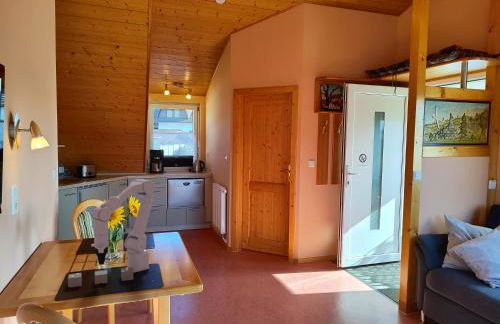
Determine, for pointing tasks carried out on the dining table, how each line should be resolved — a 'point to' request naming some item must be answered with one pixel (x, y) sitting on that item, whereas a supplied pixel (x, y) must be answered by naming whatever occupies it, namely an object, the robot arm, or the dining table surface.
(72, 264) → the dining table surface
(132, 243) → the robot arm
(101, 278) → the plain block
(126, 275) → the barred block
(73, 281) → the dotted block
